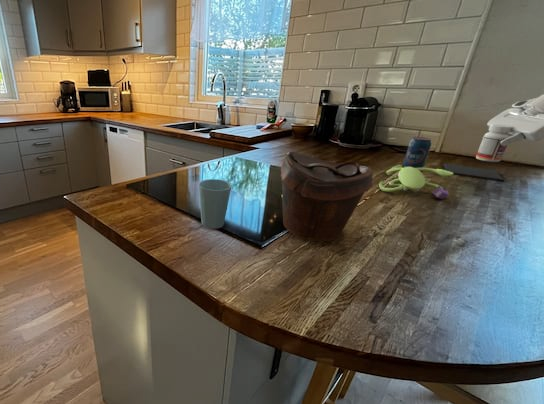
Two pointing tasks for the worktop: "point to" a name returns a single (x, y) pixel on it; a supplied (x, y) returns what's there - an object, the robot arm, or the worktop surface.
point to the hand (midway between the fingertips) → (492, 141)
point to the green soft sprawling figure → (415, 180)
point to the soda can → (417, 152)
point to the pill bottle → (493, 143)
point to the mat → (473, 172)
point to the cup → (214, 202)
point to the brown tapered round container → (320, 195)
